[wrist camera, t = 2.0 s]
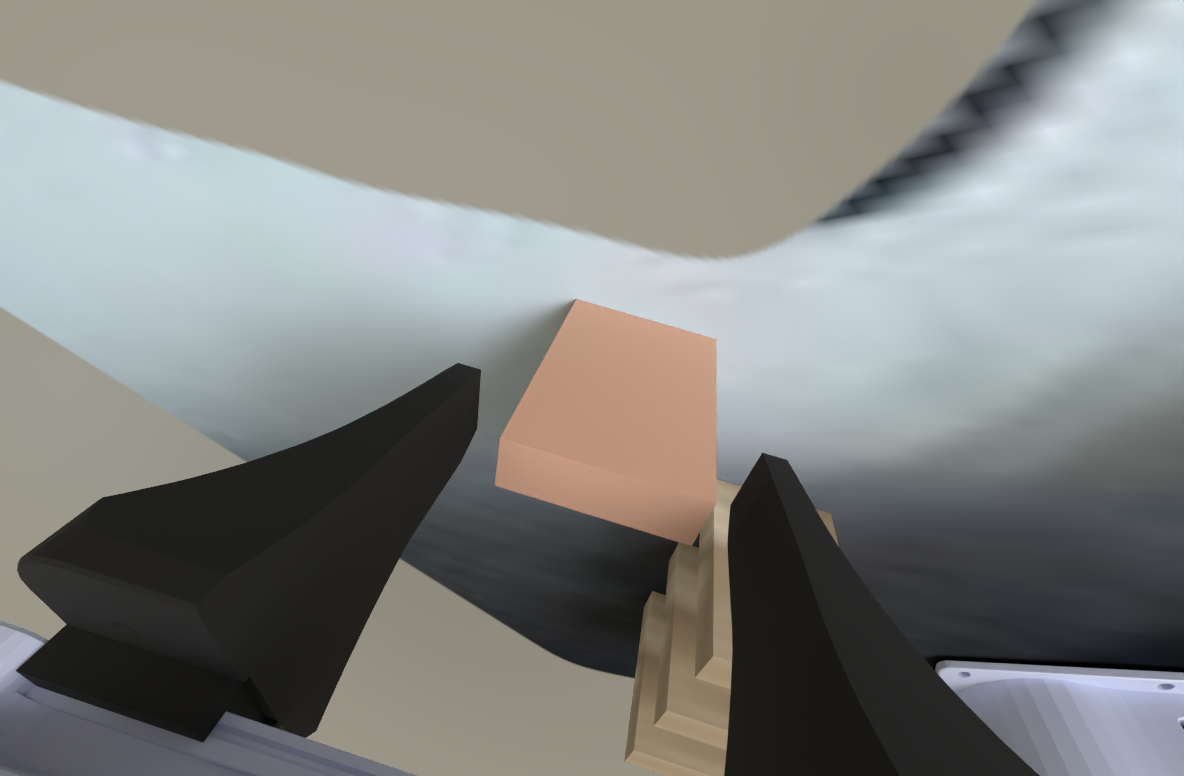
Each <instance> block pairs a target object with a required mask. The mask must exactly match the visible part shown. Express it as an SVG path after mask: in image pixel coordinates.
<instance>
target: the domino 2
mask: <svg viewBox="0 0 1184 776" xmlns="http://www.w3.org/2000/svg"><path fill="white" fill-rule="evenodd" d="M665 600H666V595H664V594H660V593H657V592H654V591H652V593H651V595H650V597H649V598H648V600H647V602H646V604H645V606H644V613H643V620H642V628H641V636H640V644H639V652H638V659H637V667H636V675H635V683H634V691H633V698H632V706H631V714H630V722H629V729H628V730H629V731H628V738H627V745H626V753H625V762H627V763H630V764H633V765H637V766H639V767H643V768H646V769H648V770H651V771H654V772H657V773H661V774H663V775H666V776H724V772H725V761H726V750H725V749H722V748H719V747H716V746H713V745H710V744H707V743H704V742H701V741H698V740H695V739H692V738H689V737H686V736H682V735H679V734H676V733H673V732H670V731H667V730H664V729H661V728H658V727H655V726H654V718H655V707H656V696H657V686H658V675H659V664H660V653H661V643H662V632H663V621H664V610H665Z"/></svg>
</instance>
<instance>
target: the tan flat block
mask: <svg viewBox="0 0 1184 776" xmlns="http://www.w3.org/2000/svg"><path fill="white" fill-rule="evenodd" d="M698 569H699V548H698V547H695V546H689V545H686V544H683V543H678V545H677V547H676V549H675V551H674V553H673V554H672V556H671V558H670V560H669V567H668V578H667V589H666V600H665V610H664V621H663V632H662V643H661V653H660V664H659V675H658V686H657V696H656V707H655V718H654V726H655V727H658V728H661V729H664V730H667V731H670V732H673V733H676V734H679V735H682V736H686V737H689V738H692V739H695V740H698V741H701V742H704V743H707V744H710V745H713V746H716V747H719V748H722V749H725V750H727V739H728V724H729V709H730V694H731V689H728V688H725V687H722V686H718V685H715V684H712V683H709V682H706V681H703V680H700V679H697V678H695V658H696V628H697V599H698Z"/></svg>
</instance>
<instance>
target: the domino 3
mask: <svg viewBox="0 0 1184 776" xmlns="http://www.w3.org/2000/svg"><path fill="white" fill-rule="evenodd" d="M740 489H741V486H738V485H735V484H731V483H728V482H725V481H721V480H718V479H716V505H715V507H714V509H713V510H712V512H711V514H710V515H709V517H708V519H707V521H706V522H705V524H704V526H703V527H702V529H701V531H700V539H699V569H698V599H697V628H696V658H695V678H697V679H700V680H703V681H706V682H709V683H712V684H715V685H718V686H722V687H725V688H728V689H731V672H732V620H731V603H730V586H729V567H728V546H727V541H728V526H729V515H730V505H731V503H732V502H733V500H734V498H735V497H736V495H737V493H738V492H739V490H740ZM816 511H817V512H818V514H819V516H820V517H821V519H822V521H823V522H824V524H825V526H826V527H827V529H828V530H829V532H830V534H831V535H832V537H833V538H834V540H835V542H836V543H837V545H838V541H837V537H836V533H835V529H834V525H833V521H832V517H831V513H827V512H824V511H821V510H817V509H816ZM838 546H839V545H838Z"/></svg>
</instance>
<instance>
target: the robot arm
mask: <svg viewBox="0 0 1184 776" xmlns="http://www.w3.org/2000/svg"><path fill="white" fill-rule="evenodd" d="M480 376H481V370H480V369H477V368H473V367H470V366H466V365H463V364H460V363H457V364H455V365H453V366H452V367H450V368H448V369H446V370H445V371H443V372H441V373H440V374H438V375H436V376H435V377H433V378H431V379H430V380H428V381H426V382H425V383H423V384H421V385H420V386H418V387H416V388H415V389H413V390H411V391H410V392H408V393H406V394H404V395H402V396H401V397H399V398H397V399H395V400H394V401H392V402H390V403H388V404H386V405H385V406H383V407H381V408H379V409H377V410H375V411H373V412H371V413H369V414H367V415H365V416H363V417H361V418H359V419H357V420H355V421H353V422H351V423H349V424H347V425H345V426H343V427H341V428H338V429H336V430H334V431H332V432H329V433H327V434H324V435H322V436H320V437H317V438H315V439H312V440H310V441H307V442H305V443H302V444H299V445H297V446H294V447H291V448H288V449H285V450H282V451H279V452H276V453H274V454H271V455H268V456H265V457H262V458H259V459H256V460H253V461H250V462H247V463H244V464H240V465H237V466H234V467H230V468H226V469H223V470H220V471H216V472H212V473H209V474H205V475H201V476H197V477H194V478H190V479H185V480H182V481H178V482H174V483H169V484H164V485H159V486H155V487H151V488H146V489H141V490H137V491H132V492H127V493H123V494H118V495H113V496H108V497H103V498H101V499H100V500H98V501H97V502H96V503H94V504H93V505H92V506H90V507H89V508H87V509H86V510H85V511H84V512H82V513H81V514H79V515H78V516H77V517H75V518H74V519H73V520H71V521H70V522H69V523H67V524H66V525H65V526H63V527H62V528H60V529H59V530H58V531H56V532H55V533H54V534H53V535H51V536H50V537H48V538H47V539H46V540H44V541H43V542H42V543H40V544H39V545H38V546H36V547H35V548H33V549H32V550H31V551H29V552H28V553H27V554H26V555H24V556H23V557H21V559H20V560H19V563H18V568H17V571H18V573H19V576H20V578H21V580H22V581H23V582H24V583H25V584H26V585H27V586H28V587H29V588H30V590H31V591H33V592H34V593H35V594H36V595H37V596H38V597H39V598H40V599H41V600H42V601H43V602H44V603H45V604H46V605H47V606H48V607H49V608H50V609H51V610H52V611H53V612H55V613H56V614H57V615H58V616H59V617H60V618H61V619H62V620H63V621H64V622H65V623H66V624H67V625H66V626H65V627H64V628H62V629H61V630H60V631H59V632H58V633H57V634H56V635H55V636H54V637H53V638H51V639H50V640H49V641H48V640H47V639H45V638H43V637H41V636H40V635H38V634H36V633H34V632H31V631H28V630H26V629H24V628H20V627H17V626H15V625H12V624H9V623H6V622H3V621H0V776H416V775H414V774H411V773H407V772H405V771H402V770H399V769H396V768H393V767H390V766H387V765H384V764H381V763H378V762H375V761H372V760H369V759H366V758H363V757H360V756H357V755H354V754H351V753H348V752H345V751H342V750H339V749H336V748H333V747H330V746H327V745H324V744H322V743H318V742H315V741H313V740H310V739H307V738H306V737H308V736H309V735H311V734H312V733H313V732H315V731H316V730H317V728H318V726H319V723H320V721H321V719H322V716H323V714H324V712H325V710H326V707H327V705H328V703H329V701H330V699H331V696H332V694H333V692H334V690H335V688H336V685H337V683H338V681H339V679H340V677H341V675H342V672H343V670H344V668H345V666H346V664H347V662H348V659H349V657H350V655H351V653H352V651H353V649H354V647H355V645H356V643H357V641H358V639H359V636H360V635H361V632H362V630H363V628H364V626H365V624H366V622H367V620H368V618H369V616H370V614H371V612H372V610H373V608H374V606H375V604H376V602H377V600H378V598H379V596H380V594H381V592H382V590H383V588H384V586H385V584H386V582H387V581H388V579H389V577H390V575H391V573H392V571H393V569H394V567H395V565H396V564H397V562H398V560H399V558H400V556H401V554H402V552H403V550H404V548H405V547H406V545H407V543H408V542H409V540H410V538H411V537H412V535H413V533H414V532H415V530H416V529H417V527H418V526H419V524H420V523H421V521H422V520H423V518H424V517H425V515H426V514H427V512H428V511H429V509H430V508H431V506H432V505H433V503H434V502H435V500H436V499H437V497H438V496H439V494H440V493H441V491H442V490H443V488H444V487H445V485H446V484H447V482H448V481H449V479H450V478H451V476H452V474H453V473H454V471H455V470H456V468H457V467H458V465H459V464H460V462H461V460H462V458H463V456H464V454H465V452H466V450H467V448H468V446H469V444H470V442H471V440H472V438H473V436H474V434H475V432H476V430H477V420H478V405H479V390H480ZM727 546H728V567H729V586H730V603H731V620H732V672H731V694H730V709H729V724H728V739H727V750H726V761H725V772H724V776H1184V672H1167V671H1147V670H1128V669H1108V668H1089V667H1069V666H1050V665H1030V664H1011V663H991V662H972V661H952V660H944V661H940V662H938V663H937V664H936V669H935V670H934V669H933V668H932V667H931V666H930V665H929V664H928V662H927V661H926V660H925V659H924V658H923V657H922V656H921V654H920V653H919V652H918V651H917V650H916V649H915V648H914V647H913V645H912V644H911V643H910V642H909V641H908V639H907V638H906V637H905V636H904V635H903V633H902V632H901V631H900V630H899V629H898V627H897V626H896V625H895V624H894V622H893V621H892V620H891V619H890V617H889V616H888V615H887V613H886V612H885V611H884V610H883V608H882V607H881V606H880V604H879V603H878V602H877V601H876V599H875V598H874V597H873V595H872V594H871V593H870V591H869V590H868V589H867V587H866V586H865V585H864V583H863V582H862V580H861V579H860V577H859V576H858V574H857V573H856V572H855V570H854V569H853V567H852V566H851V564H850V563H849V561H848V560H847V558H846V557H845V556H844V554H843V552H842V551H841V549H840V548H839V546H838V545H837V543H836V542H835V540H834V538H833V537H832V535H831V534H830V532H829V530H828V529H827V527H826V526H825V524H824V522H823V521H822V519H821V517H820V516H819V514H818V512H817V511H816V509H815V507H814V505H813V504H812V502H811V500H810V499H809V497H808V495H807V493H806V492H805V490H804V488H803V486H802V485H801V483H800V481H799V479H798V478H797V476H796V474H795V473H794V471H793V469H792V467H791V466H790V464H789V463H788V461H787V460H785V459H781V458H778V457H775V456H771V455H768V454H765V453H762V454H761V456H760V458H759V459H758V461H757V462H756V464H755V466H754V467H753V469H752V471H751V472H750V474H749V476H748V477H747V479H746V480H745V482H744V484H743V485H742V487H741V489H740V490H739V492H738V493H737V495H736V497H735V498H734V500H733V502H732V503H731V505H730V515H729V526H728V541H727Z"/></svg>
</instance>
